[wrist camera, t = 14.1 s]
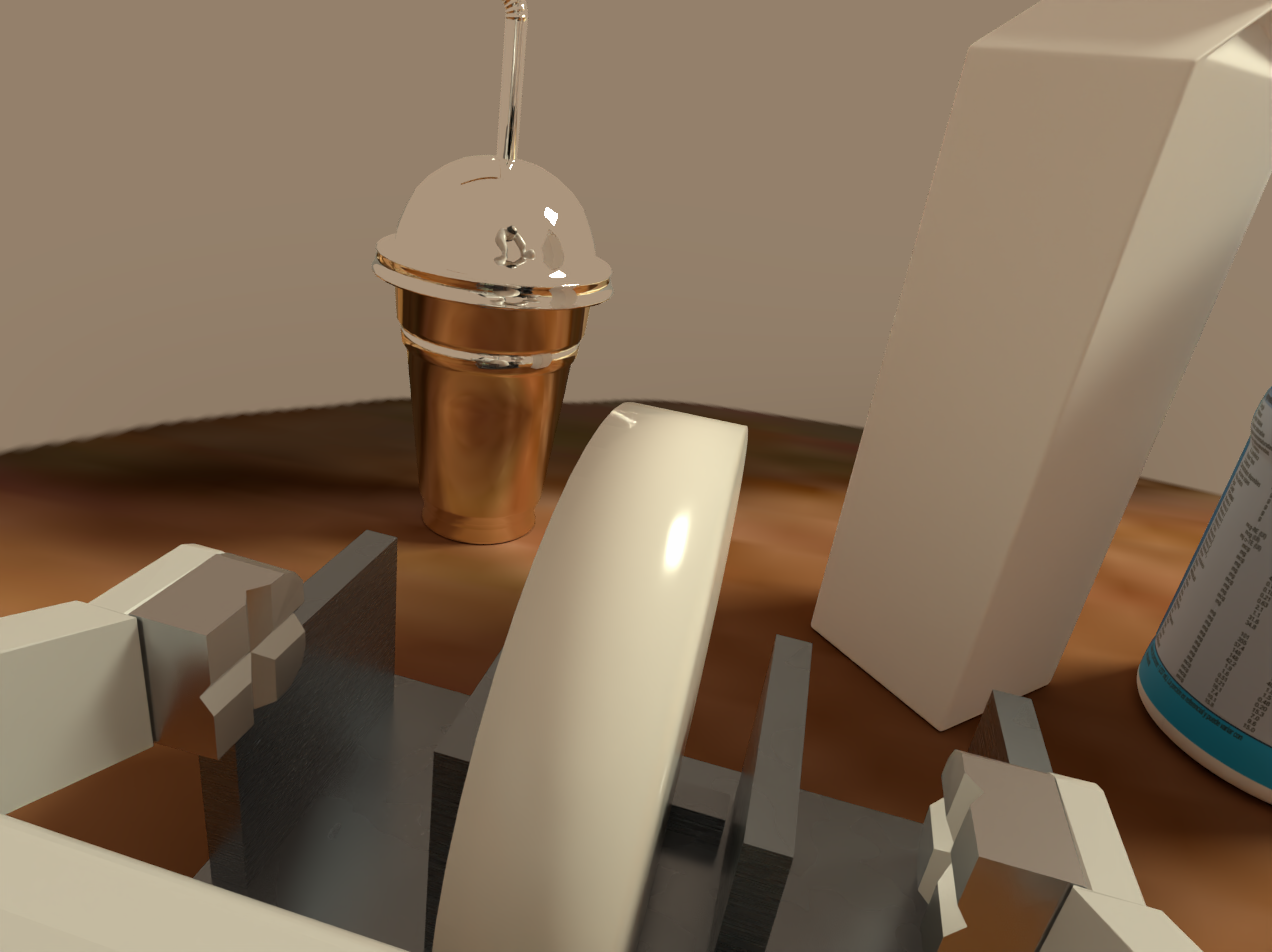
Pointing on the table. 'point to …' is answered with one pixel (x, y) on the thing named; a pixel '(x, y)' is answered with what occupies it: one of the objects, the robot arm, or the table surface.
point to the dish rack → (436, 772)
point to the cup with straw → (490, 321)
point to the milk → (1043, 334)
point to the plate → (595, 694)
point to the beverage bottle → (1223, 632)
